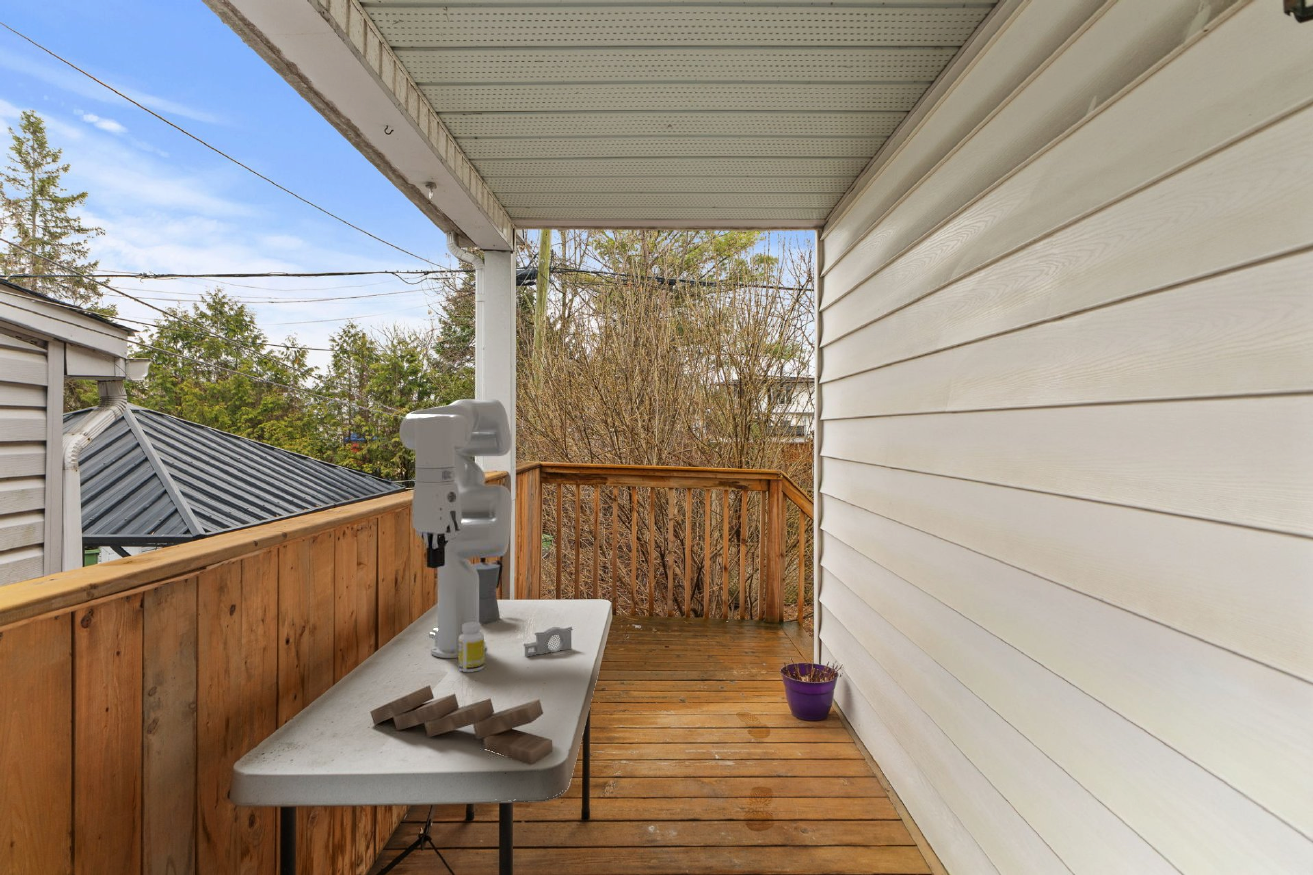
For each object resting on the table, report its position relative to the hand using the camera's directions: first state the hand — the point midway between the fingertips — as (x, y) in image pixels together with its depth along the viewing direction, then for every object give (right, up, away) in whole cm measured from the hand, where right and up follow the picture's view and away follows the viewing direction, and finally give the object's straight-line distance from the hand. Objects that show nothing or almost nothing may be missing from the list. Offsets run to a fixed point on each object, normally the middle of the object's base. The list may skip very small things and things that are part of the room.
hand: (435, 566), depth 131 cm
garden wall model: (+19, -25, +23) cm, 39 cm away
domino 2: (+1, -23, -17) cm, 29 cm away
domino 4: (+16, -22, -23) cm, 35 cm away
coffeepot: (-4, -26, +54) cm, 60 cm away
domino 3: (+7, -23, -20) cm, 31 cm away
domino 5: (+18, -24, -25) cm, 39 cm away
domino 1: (-4, -23, -15) cm, 28 cm away
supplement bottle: (+4, -25, +12) cm, 28 cm away
